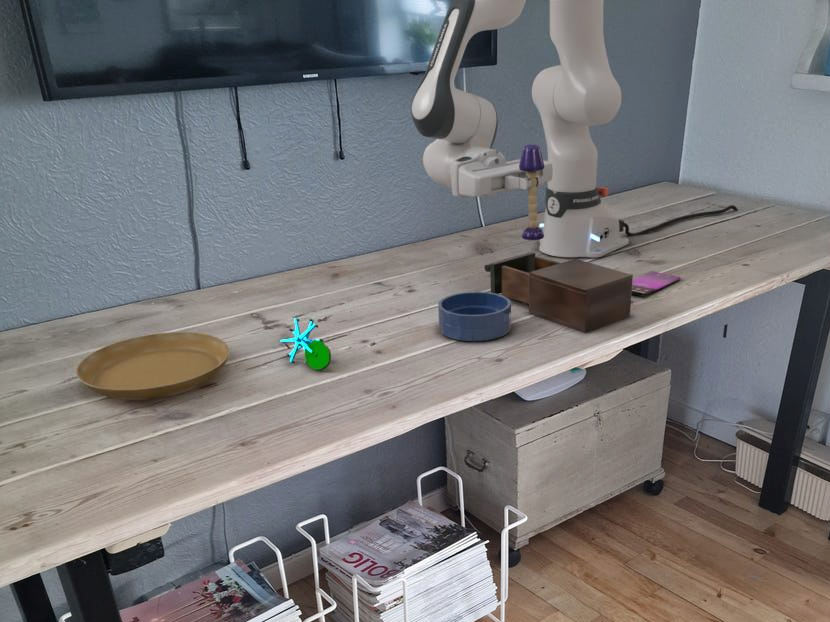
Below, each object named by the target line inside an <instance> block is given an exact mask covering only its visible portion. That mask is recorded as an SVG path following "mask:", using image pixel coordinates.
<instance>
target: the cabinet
mask: <svg viewBox="0 0 830 622" xmlns="http://www.w3.org/2000/svg"><path fill="white" fill-rule="evenodd" d="M633 279H634V275H633V274H631V273H627V272H624V271H621V270H617V269H614V268H609V267H607V266H603V265H600V264H595V263H592V262H588V261H585V260H581V259H577V258H573V259H570V260H566V261H563V262H560V263H559V264H556V265H553V266H549V267H546V268H542V269H539V270H536V271H532V272H530V277H529V304H528V314H529V315H533V316H536V317H537V318H538V317H539V318H541V319H544V320H547V321H550V322H553V323H556V324H558V325H561V326H564V327H567V328H570V329H572V330H575V331H578V332H581V333H584V334H586V333H588V332H592V331H594V330H597V329H601V328H602V327H605V326H608V325H611V324H614V323H616V322H619V321H621V320H624V319H626V318H629V317H631V304H632V294H633V293H632V280H633Z"/></svg>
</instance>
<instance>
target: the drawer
mask: <svg viewBox="0 0 830 622" xmlns="http://www.w3.org/2000/svg"><path fill="white" fill-rule="evenodd" d="M559 263H561V262H559V261H556V260H552V259H549V258H546V257H544V256H543V257H542V256H539V255H536V252H533V251H529V252H526V253H523V254H519V255H515V256H512V257H509V258H504V259H501V260H497V261H494V262H490V263H489V264H486V265H484V271H485V272H486V273H489V272H490V293H495V294H499V295H502V296H505V297H506V298H511V299H513V300H517V301H519V302H522V303H525V304H528V305H529V277H530V272H532V271H536V270H539V269H542V268H546V267H549V266H553V265H556V264H559Z"/></svg>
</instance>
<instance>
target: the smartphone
mask: <svg viewBox="0 0 830 622" xmlns="http://www.w3.org/2000/svg"><path fill="white" fill-rule="evenodd" d="M680 280H681V276H679V275H674V274H668V273H664V272H658V271H654V270H653V271H649V272H647V273H645V274H642V275H640V276H637V277H636V278H633V280H632V293H631V294H634V295H639V296H643V297H644V296H647V295H650V294H651V293H654V292H657V291H658V290H660V289H662V288H665V287H667V286H668V285H671V284H673V283H675V282H677V281H680Z"/></svg>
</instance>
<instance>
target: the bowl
mask: <svg viewBox="0 0 830 622" xmlns="http://www.w3.org/2000/svg"><path fill="white" fill-rule="evenodd" d="M437 311H438V329H439V333H441V334H442V335H443V336H445V337H447V338H450V339H452V340H453V339H454V340H457V341H465V342H482V341H490V340H494V339H497V338H501V337H504V336H505V335H507V334H508V333H510V331H511V329H512V302H511V300H510V299H509V297H507V296H504V295H502V294H495V293H491V292H487V291H465V292H458V293H454V294H450V295H447V296H445V297H443V298H441V299H440V300H439V301H438V303H437Z"/></svg>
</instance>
